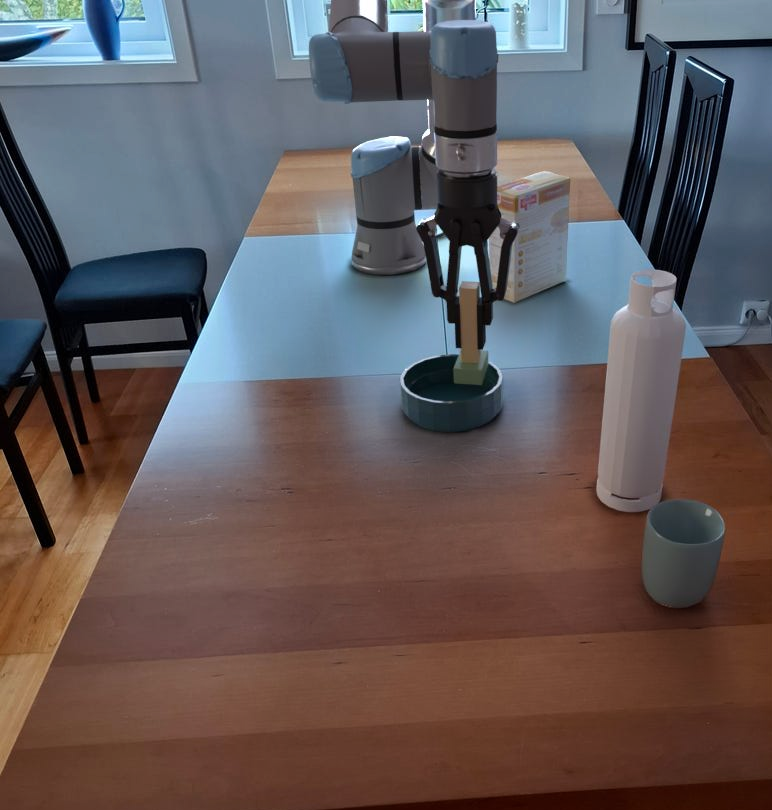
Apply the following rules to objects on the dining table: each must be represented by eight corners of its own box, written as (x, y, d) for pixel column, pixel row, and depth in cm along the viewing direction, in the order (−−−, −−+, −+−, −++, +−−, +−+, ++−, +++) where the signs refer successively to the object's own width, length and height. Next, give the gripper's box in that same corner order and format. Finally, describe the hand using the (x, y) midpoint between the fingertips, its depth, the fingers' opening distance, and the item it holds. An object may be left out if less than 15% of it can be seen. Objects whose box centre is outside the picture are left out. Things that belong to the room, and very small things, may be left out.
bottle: (620, 519, 98) (645, 298, 81) (583, 485, 103) (599, 272, 86) (674, 500, 101) (709, 283, 84) (635, 467, 106) (660, 259, 89)
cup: (629, 572, 90) (638, 500, 84) (697, 567, 90) (711, 495, 84) (646, 622, 84) (658, 548, 78) (720, 616, 84) (737, 543, 78)
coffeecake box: (540, 272, 162) (543, 169, 150) (567, 281, 158) (572, 177, 146) (487, 293, 154) (486, 187, 142) (514, 303, 149) (515, 195, 138)
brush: (461, 363, 119) (458, 275, 110) (488, 365, 118) (487, 276, 110) (453, 383, 114) (450, 293, 106) (481, 385, 113) (480, 294, 105)
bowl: (414, 380, 126) (412, 351, 123) (508, 386, 124) (508, 357, 121) (391, 430, 115) (388, 399, 112) (494, 437, 113) (494, 406, 110)
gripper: (397, 175, 97) (410, 353, 111) (526, 179, 95) (522, 360, 109) (411, 158, 103) (422, 329, 117) (532, 162, 101) (528, 335, 115)
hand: (470, 344), depth 113 cm, fingers closed on brush, 2 cm apart
